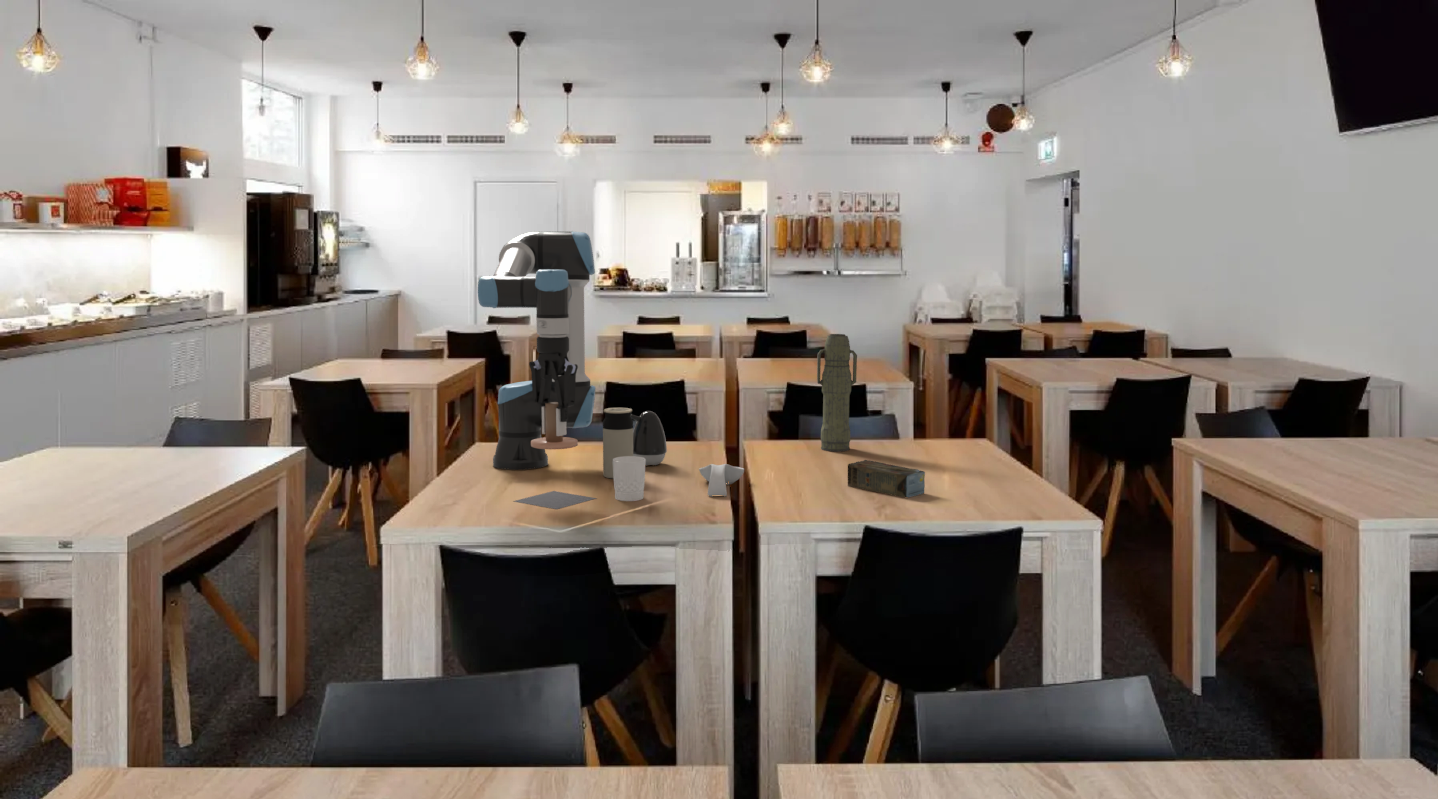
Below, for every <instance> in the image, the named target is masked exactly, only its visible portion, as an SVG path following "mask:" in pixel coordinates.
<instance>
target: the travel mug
mask: <svg viewBox="0 0 1438 799" xmlns="http://www.w3.org/2000/svg"><path fill="white" fill-rule="evenodd" d="M632 412H633V409H632V408H628V407H608V408H604V409H603V413H604V416H605V417H604V419H603V421H602V465H603V466H602V467H603V468H602V469H603V470H602V474H603V477H604V478H607V479H611V480H614V477H613V459H614V458H617V457H624V456H633V431H634V420H633V419H632V418H631V417H630V416H631V415H632Z"/></svg>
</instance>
